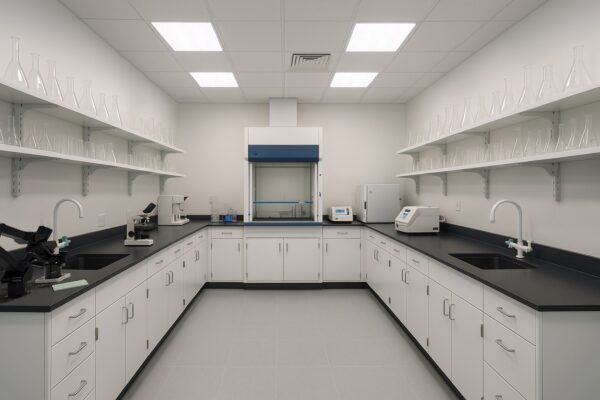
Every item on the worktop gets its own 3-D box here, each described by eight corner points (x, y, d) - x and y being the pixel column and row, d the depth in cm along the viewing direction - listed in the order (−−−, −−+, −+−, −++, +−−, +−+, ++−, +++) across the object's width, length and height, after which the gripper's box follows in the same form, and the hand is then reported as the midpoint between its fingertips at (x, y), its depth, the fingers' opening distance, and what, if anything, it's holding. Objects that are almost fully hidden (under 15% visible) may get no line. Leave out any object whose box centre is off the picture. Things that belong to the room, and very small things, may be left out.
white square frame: (58, 281, 148) (58, 278, 148) (35, 283, 146) (35, 280, 146) (70, 276, 158) (70, 273, 158) (49, 277, 156) (49, 274, 156)
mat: (54, 291, 133) (54, 290, 133) (52, 286, 141) (52, 285, 140) (88, 284, 143) (88, 283, 143) (84, 280, 150) (84, 279, 150)
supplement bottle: (51, 281, 148) (51, 258, 147) (41, 281, 149) (40, 258, 149) (65, 277, 154) (64, 255, 154) (55, 277, 156) (54, 255, 155)
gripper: (67, 235, 149) (80, 252, 160) (25, 237, 145) (42, 254, 157) (57, 254, 141) (72, 270, 152) (13, 256, 138) (31, 272, 149)
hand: (54, 266), depth 153 cm, fingers open, 9 cm apart
